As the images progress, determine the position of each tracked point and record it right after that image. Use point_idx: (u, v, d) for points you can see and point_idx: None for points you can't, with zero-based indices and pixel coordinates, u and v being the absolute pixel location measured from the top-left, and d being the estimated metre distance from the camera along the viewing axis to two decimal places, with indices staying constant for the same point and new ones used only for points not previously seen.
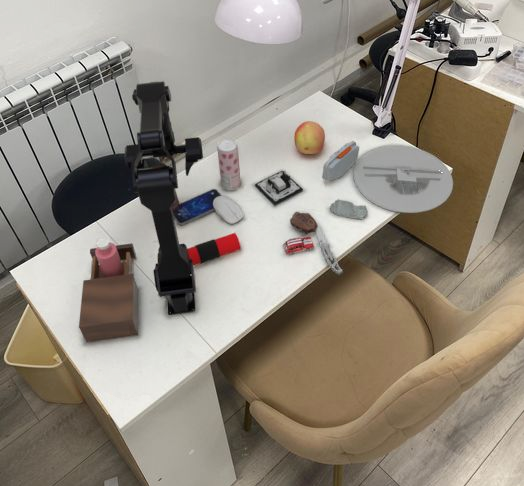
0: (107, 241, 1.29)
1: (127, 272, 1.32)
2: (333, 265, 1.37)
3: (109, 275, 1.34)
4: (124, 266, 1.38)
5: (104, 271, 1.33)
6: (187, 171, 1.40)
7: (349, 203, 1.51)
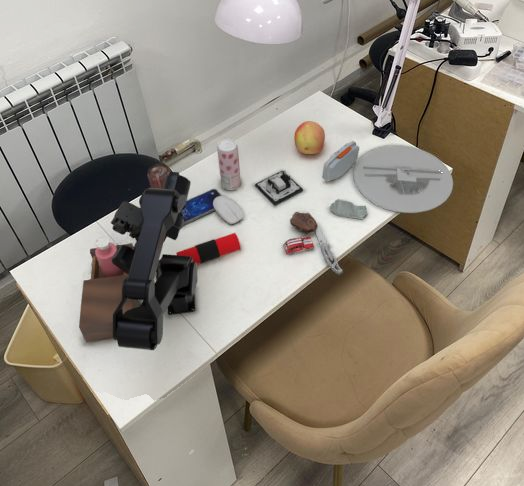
0: (107, 241, 1.29)
1: None
2: (333, 265, 1.37)
3: (109, 275, 1.34)
4: None
5: (104, 271, 1.33)
6: None
7: (349, 203, 1.51)
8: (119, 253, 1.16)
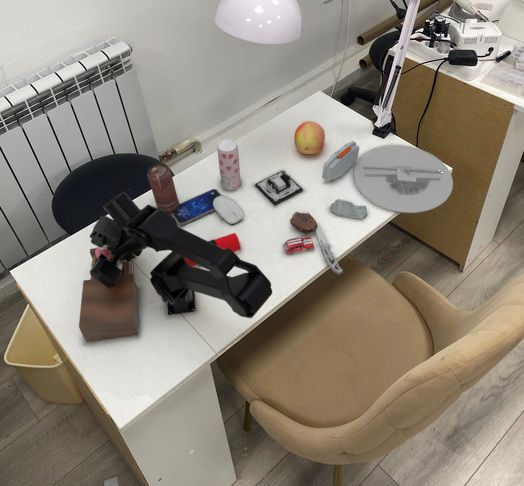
0: None
1: (127, 272, 1.32)
2: (333, 265, 1.37)
3: None
4: (124, 266, 1.38)
5: None
6: None
7: (349, 203, 1.51)
8: (97, 265, 1.21)
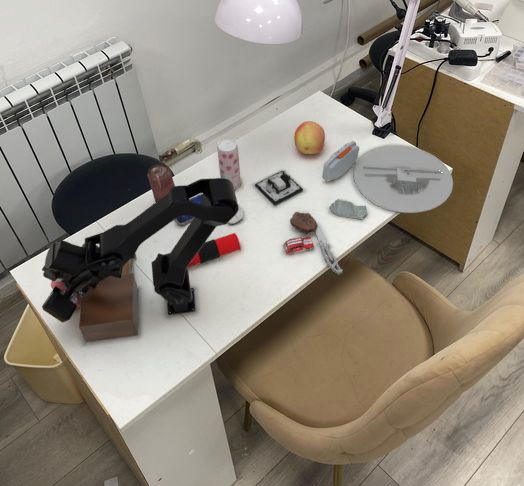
0: None
1: (127, 272, 1.32)
2: (333, 265, 1.37)
3: None
4: (124, 266, 1.38)
5: None
6: None
7: (349, 203, 1.51)
8: (49, 300, 1.17)
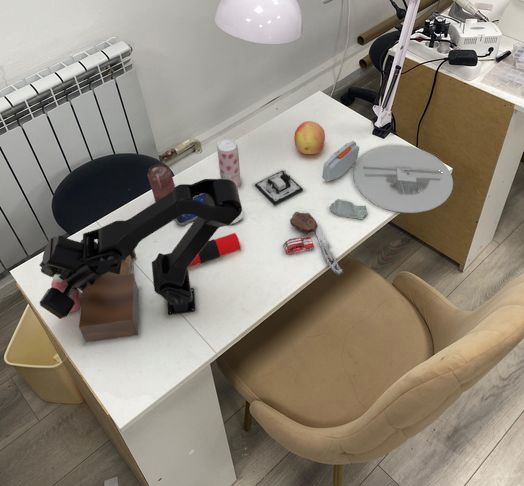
0: None
1: (127, 272, 1.32)
2: (333, 265, 1.37)
3: None
4: (124, 266, 1.38)
5: None
6: None
7: (349, 203, 1.51)
8: (47, 296, 1.16)
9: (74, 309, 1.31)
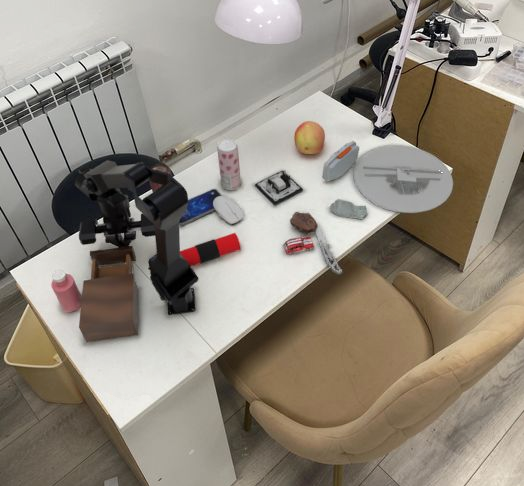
0: (63, 273, 1.25)
1: None
2: (333, 265, 1.37)
3: (67, 307, 1.30)
4: (124, 268, 1.37)
5: (61, 303, 1.29)
6: None
7: (349, 203, 1.51)
8: (87, 220, 1.36)
9: (74, 309, 1.31)
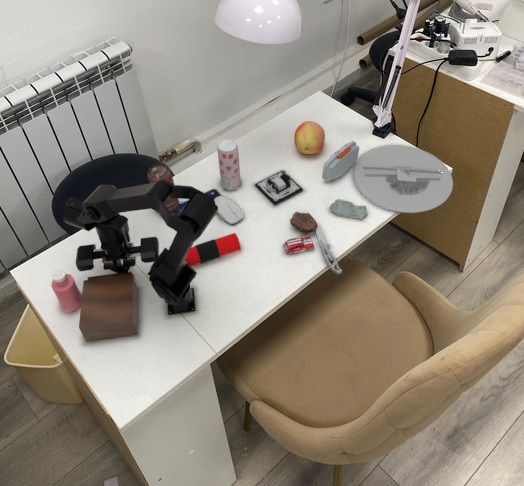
0: (63, 273, 1.25)
1: None
2: (333, 265, 1.37)
3: (67, 307, 1.30)
4: None
5: (61, 303, 1.29)
6: None
7: (349, 203, 1.51)
8: (85, 245, 1.30)
9: (74, 309, 1.31)
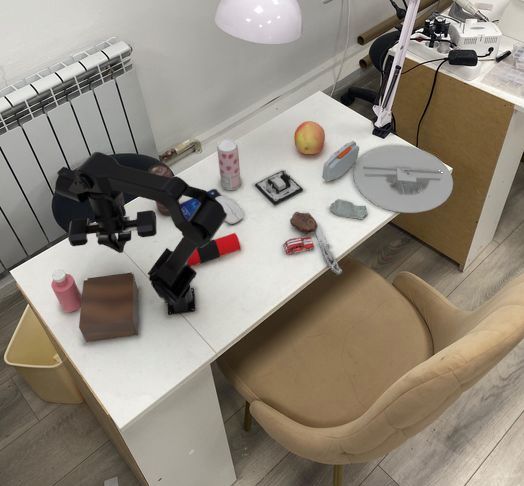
0: (63, 273, 1.25)
1: None
2: (332, 265, 1.37)
3: (67, 307, 1.30)
4: None
5: (61, 303, 1.29)
6: (121, 249, 1.26)
7: (349, 203, 1.51)
8: (78, 219, 1.23)
9: (74, 309, 1.31)
